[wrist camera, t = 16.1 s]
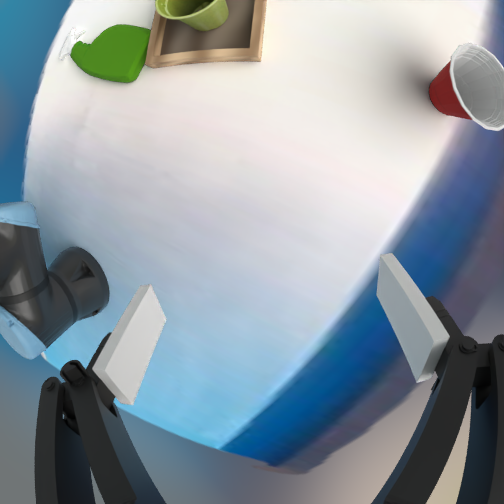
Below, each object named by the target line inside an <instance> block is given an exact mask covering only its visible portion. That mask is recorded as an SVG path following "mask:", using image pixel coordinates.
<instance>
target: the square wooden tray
mask: <svg viewBox="0 0 504 504" xmlns="http://www.w3.org/2000/svg"><path fill="white" fill-rule="evenodd" d="M225 1H226V4H227V7H228V11H229V15H228V18H227V19H226V21H225V22H224V23H223V24H222V25H221V26H219V27H218V28H215V29H211V30H209V31H199V30H196V29H195V28H193V27H191V26H189V25H188V24H186V23H184V22H182V21H180V20H174V19H168V18H165V17H163V16H161V15H160V14H159V13H158V12H157V10H156V11H155V15H154V20H153V24H152V29H151V34H150V39H149V44H148V50H147V56H146V62H145V65H147V66H149V67H151V68H158V67H165V66H173V65H182V64H192V63H205V62H226V61H260V62H261V54H262V43H263V33H264V22H265V12H266V2H267V0H225ZM199 11H200V9H199V10H198V11H197V12H199Z"/></svg>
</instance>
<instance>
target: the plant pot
mask: <svg viewBox="0 0 504 504" xmlns="http://www.w3.org/2000/svg"><path fill="white" fill-rule="evenodd" d="M155 7H156V10H157V12H158V13H159V14H160V15H161V16H163V17H165V18H168V19H174V20H180V21H182V22H184V23H186V24H188V25H189V26H191V27H193V28H195V29H196V30H199V31H209V30H211V29H215V28H218V27H219V26H221V25H222V24H223V23H224V22H225V21H226V19H227V18H228V15H229V11H228V7H227V4H226V1H225V0H155ZM199 9H200V11H199V12H197V11H198V10H199Z"/></svg>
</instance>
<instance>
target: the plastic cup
mask: <svg viewBox="0 0 504 504" xmlns="http://www.w3.org/2000/svg"><path fill="white" fill-rule="evenodd" d="M429 95H430V99H431V101H432V103H433V105H434V106H435V107H436V108H437V109H438V111H440V112H442V113H443V114H446V115H450V116H455V117H460V118H465V119H470V120H474V121H475V122H477V123H478V124H480V125H481V126H482V127H484V128H485V129H489V130H496V131H499V130H501V129H502V128H504V68H503V66H502V65H501V64H500V62H499V61H498V60H497V58H496V57H495V56H494V55H493V54H491V53H490V52H489V51H488V50H486V49H485V48H483V47H482V46H479V45H476V44H472V43H467V44H463V45H460V46H458V48H457V49H456V50H455V52H454V53H453V55H452V56H451V60H450V62H449V63H448V64H447V65H446V66H445V67H444V68H443V69H442V70H441V71H440V72H439V74H438V75H437V77H436V78H435V79H434V80H433V81H432V83H431V84H430V87H429Z"/></svg>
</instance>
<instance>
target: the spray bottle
mask: <svg viewBox="0 0 504 504" xmlns="http://www.w3.org/2000/svg"><path fill="white" fill-rule="evenodd" d="M75 30H76V28H72V29H71V31H70V33H69V34H68V36H67V38H66V41H65V43H64V45H63V47H62V49H61V52H60V56H59V59H61V60H64V59H65V57H67V56H68V55H70V56H71V58H72V59H73V61H74V62H75V63H76V64H77V65H78V67H80V68H81V69H82V70H83V71H84V72H85V73H87V74H89V75H91V76H94V77H98V78H101V79H105V80H109V81H115V82H124V83H127V82H132V81H134V80H136V79H137V77H138V75H139V73H140V71H141V69H142V67H143V65H144V63H145V62H146V56H147V50H148V44H149V39H150V34H151V30H149V29H146V28H141V27H137V26H131V25H115V26H112V27H110V28H108V29H106V30H104V31H103V32H102V33H101V34H100V35H99V36H98V37H97V38H96V39H95V40H94V41H93V42H92V44H86V43H84V44H83V43H82V42H81V41H78V42H77V43H76V39H77V38H78V37H79V36H80V35H82V34H83V33H84V32H85V31H82V32H80V33H78V34H76V35H75V34H74V33H75Z"/></svg>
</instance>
